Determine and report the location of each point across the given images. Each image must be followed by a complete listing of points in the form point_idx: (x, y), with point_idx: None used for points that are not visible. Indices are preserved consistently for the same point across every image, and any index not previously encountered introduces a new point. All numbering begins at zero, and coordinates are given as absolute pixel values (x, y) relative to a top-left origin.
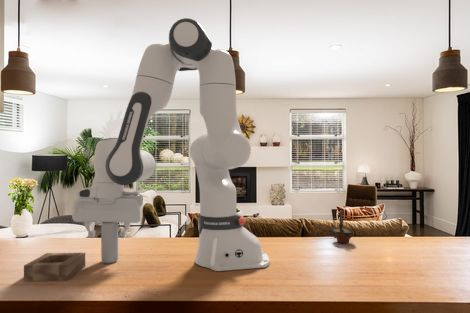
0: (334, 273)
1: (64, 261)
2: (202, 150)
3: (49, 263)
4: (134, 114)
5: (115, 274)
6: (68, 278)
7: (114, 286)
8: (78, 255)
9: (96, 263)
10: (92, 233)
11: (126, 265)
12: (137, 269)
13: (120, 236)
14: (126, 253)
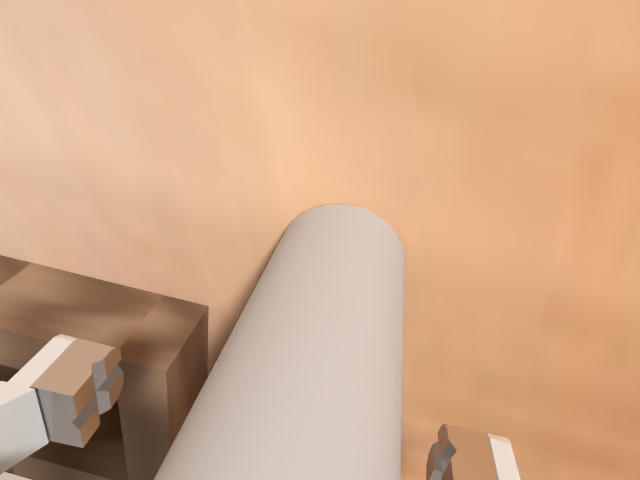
0: None
1: (129, 476)
2: None
3: (72, 476)
4: None
5: (404, 455)
6: None
7: None
8: (150, 412)
9: (258, 267)
10: (92, 424)
11: (465, 358)
12: (528, 434)
13: (432, 475)
14: (480, 35)
